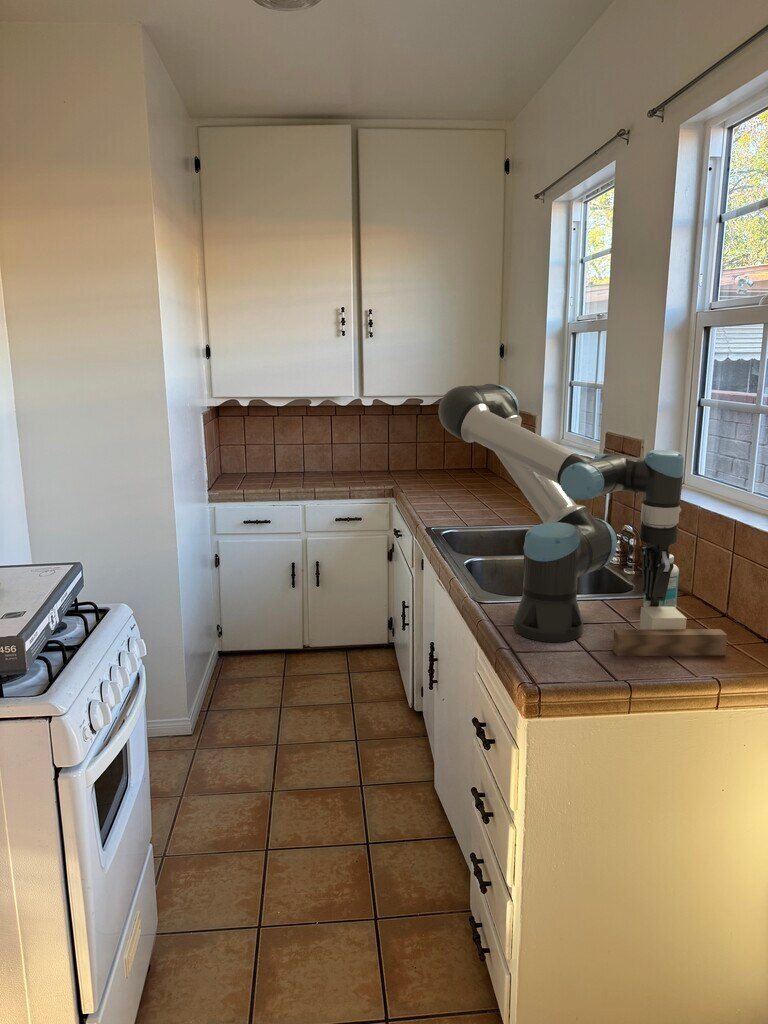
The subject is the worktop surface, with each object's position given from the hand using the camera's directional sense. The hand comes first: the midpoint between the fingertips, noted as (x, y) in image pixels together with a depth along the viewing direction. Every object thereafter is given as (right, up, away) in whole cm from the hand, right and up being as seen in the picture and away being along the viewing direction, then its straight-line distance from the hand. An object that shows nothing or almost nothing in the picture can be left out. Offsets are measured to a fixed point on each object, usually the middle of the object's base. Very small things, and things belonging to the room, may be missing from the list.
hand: (650, 626), depth 161 cm
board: (0, -4, -10) cm, 11 cm away
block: (0, -3, -6) cm, 6 cm away
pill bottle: (+8, +2, +15) cm, 17 cm away
